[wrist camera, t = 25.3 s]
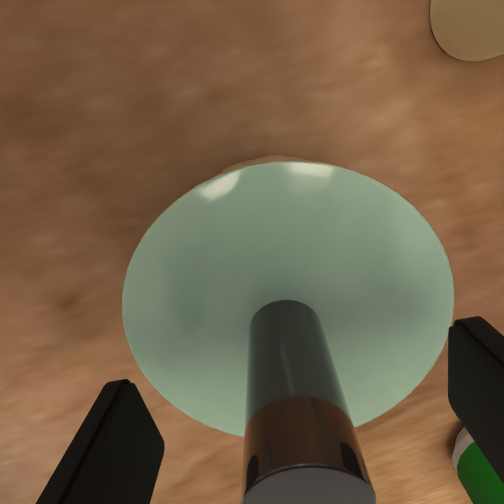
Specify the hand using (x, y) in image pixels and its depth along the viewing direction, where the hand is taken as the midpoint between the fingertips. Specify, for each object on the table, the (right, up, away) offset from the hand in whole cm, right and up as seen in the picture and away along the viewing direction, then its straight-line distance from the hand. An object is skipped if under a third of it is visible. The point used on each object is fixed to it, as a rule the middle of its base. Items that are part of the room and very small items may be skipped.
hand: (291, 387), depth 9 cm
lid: (0, +1, +3) cm, 3 cm away
